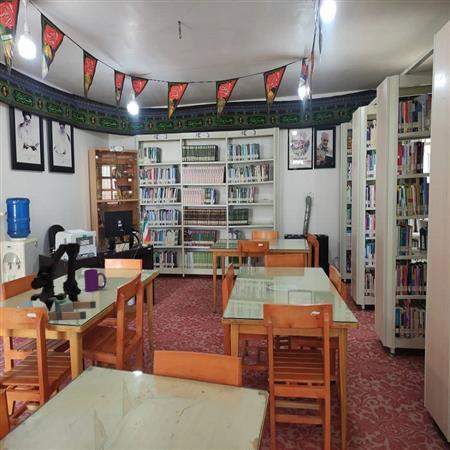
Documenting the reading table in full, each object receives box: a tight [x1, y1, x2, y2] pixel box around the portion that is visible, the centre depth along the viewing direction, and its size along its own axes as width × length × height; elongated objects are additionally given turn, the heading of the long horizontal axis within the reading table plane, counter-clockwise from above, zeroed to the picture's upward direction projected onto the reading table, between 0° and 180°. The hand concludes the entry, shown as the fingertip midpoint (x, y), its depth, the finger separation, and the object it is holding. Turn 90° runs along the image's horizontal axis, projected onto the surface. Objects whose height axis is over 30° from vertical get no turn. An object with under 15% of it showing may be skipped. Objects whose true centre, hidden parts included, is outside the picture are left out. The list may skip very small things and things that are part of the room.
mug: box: [83, 268, 107, 293], centre depth 259 cm, size 9×16×15 cm, turn 90°
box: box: [54, 297, 75, 313], centre depth 211 cm, size 7×14×8 cm, turn 40°
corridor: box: [47, 300, 97, 321], centre depth 210 cm, size 20×24×4 cm
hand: (49, 311), depth 209 cm, fingers closed
